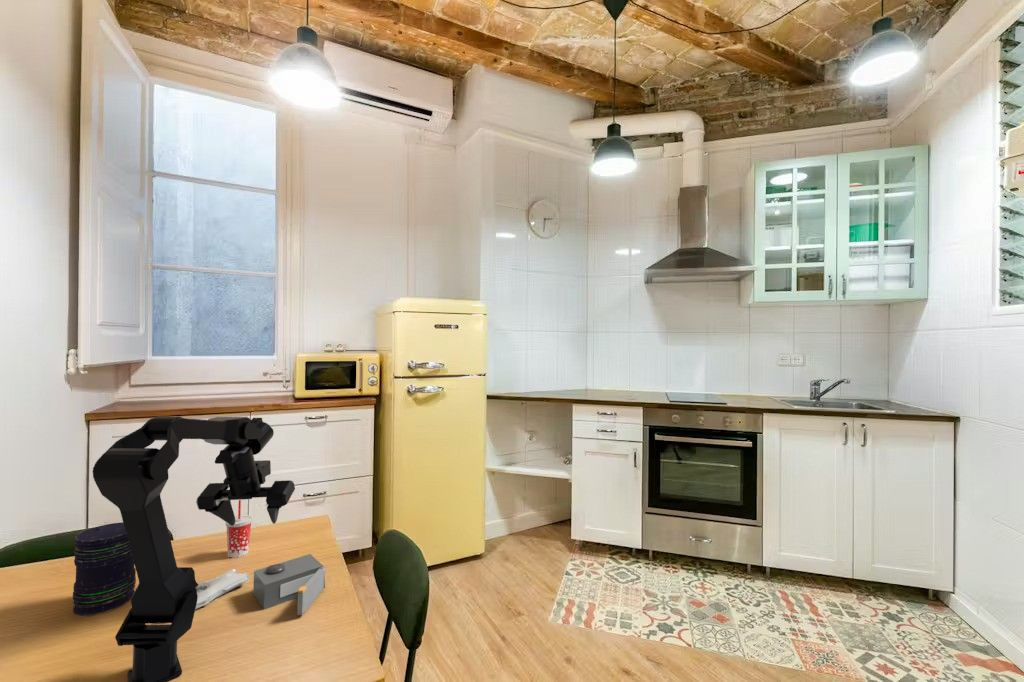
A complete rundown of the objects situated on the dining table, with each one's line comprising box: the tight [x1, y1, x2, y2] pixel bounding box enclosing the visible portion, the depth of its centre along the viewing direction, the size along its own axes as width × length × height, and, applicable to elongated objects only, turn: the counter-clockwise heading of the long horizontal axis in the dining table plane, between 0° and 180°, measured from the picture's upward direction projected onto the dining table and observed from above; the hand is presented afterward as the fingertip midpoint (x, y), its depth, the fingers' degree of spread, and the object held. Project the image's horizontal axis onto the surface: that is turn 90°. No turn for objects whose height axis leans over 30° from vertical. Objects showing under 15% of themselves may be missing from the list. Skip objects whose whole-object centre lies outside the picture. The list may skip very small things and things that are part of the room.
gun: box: [195, 568, 250, 611], centre depth 95 cm, size 18×4×10 cm
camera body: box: [253, 553, 324, 610], centre depth 98 cm, size 8×12×6 cm
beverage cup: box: [224, 500, 254, 558], centre depth 116 cm, size 6×6×14 cm
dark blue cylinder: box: [72, 521, 137, 617], centre depth 93 cm, size 10×10×15 cm
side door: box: [296, 565, 326, 616], centre depth 94 cm, size 1×11×5 cm, turn 0°
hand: (254, 523), depth 102 cm, fingers open, 9 cm apart
